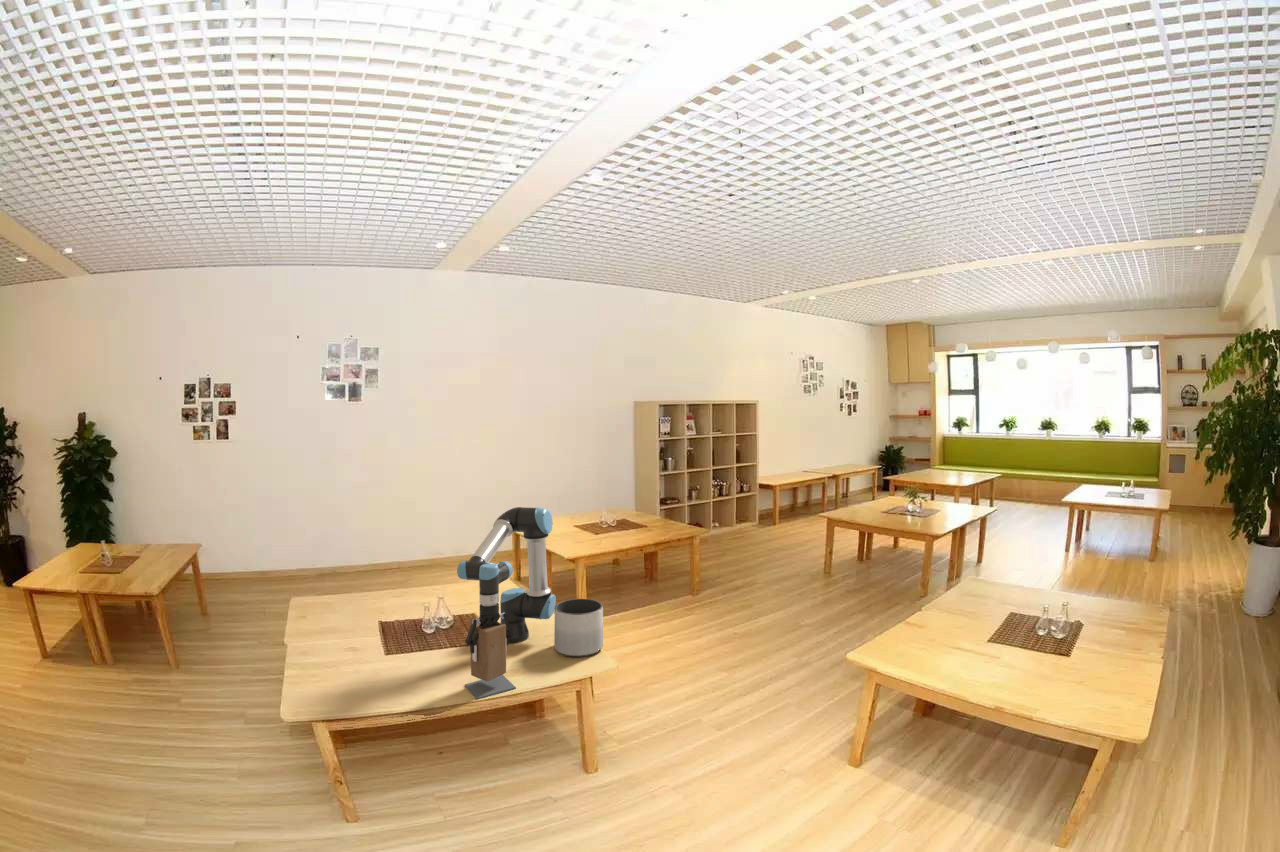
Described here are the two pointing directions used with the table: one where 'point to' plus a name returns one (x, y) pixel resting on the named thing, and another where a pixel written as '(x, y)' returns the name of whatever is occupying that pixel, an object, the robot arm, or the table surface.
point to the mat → (489, 687)
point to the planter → (578, 627)
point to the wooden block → (490, 652)
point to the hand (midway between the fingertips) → (489, 657)
